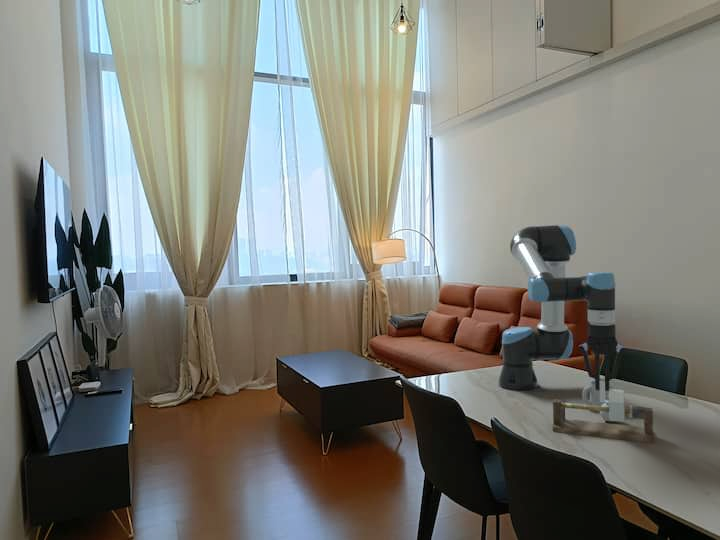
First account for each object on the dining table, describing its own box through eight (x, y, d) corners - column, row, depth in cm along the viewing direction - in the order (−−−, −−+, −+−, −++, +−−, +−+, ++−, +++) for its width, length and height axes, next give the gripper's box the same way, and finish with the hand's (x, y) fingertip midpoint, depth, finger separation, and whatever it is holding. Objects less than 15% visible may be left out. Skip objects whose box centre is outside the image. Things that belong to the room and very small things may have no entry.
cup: (616, 412, 169) (616, 385, 168) (586, 412, 170) (585, 386, 169) (608, 405, 176) (607, 380, 175) (578, 405, 177) (578, 380, 176)
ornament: (624, 424, 157) (623, 393, 156) (599, 424, 158) (598, 393, 157) (616, 418, 163) (615, 387, 162) (592, 418, 164) (592, 387, 163)
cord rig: (552, 431, 154) (552, 402, 153) (555, 421, 162) (554, 394, 161) (654, 443, 142) (653, 412, 142) (651, 432, 150) (650, 403, 150)
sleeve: (609, 420, 149) (608, 392, 148) (609, 415, 153) (608, 387, 153) (624, 422, 147) (624, 393, 146) (623, 416, 151) (623, 388, 151)
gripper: (577, 324, 150) (578, 402, 151) (626, 326, 144) (627, 406, 145) (578, 320, 156) (579, 395, 157) (625, 322, 151) (626, 399, 152)
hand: (602, 400), depth 151 cm, fingers closed
